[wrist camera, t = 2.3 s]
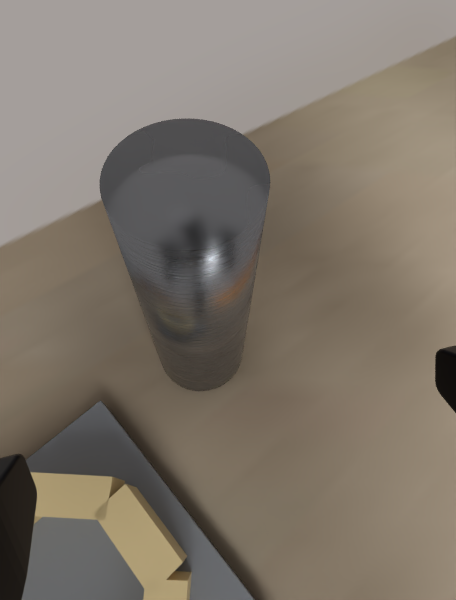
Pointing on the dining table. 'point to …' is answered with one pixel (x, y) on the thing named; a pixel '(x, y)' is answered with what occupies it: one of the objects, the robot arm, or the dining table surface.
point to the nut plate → (115, 524)
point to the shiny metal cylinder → (190, 239)
